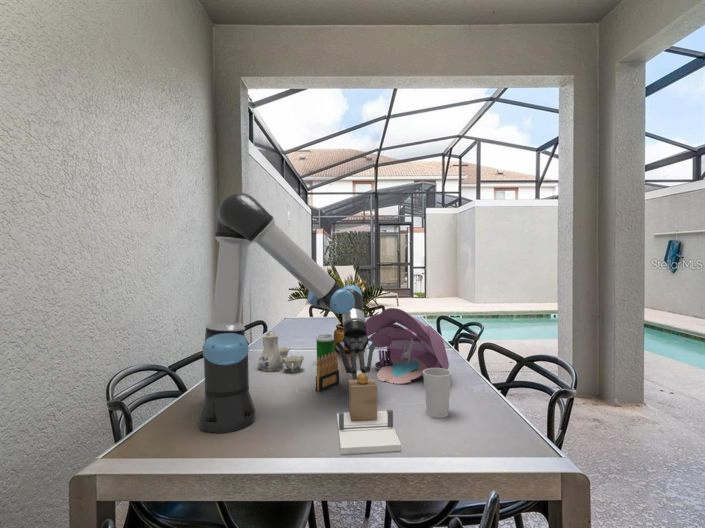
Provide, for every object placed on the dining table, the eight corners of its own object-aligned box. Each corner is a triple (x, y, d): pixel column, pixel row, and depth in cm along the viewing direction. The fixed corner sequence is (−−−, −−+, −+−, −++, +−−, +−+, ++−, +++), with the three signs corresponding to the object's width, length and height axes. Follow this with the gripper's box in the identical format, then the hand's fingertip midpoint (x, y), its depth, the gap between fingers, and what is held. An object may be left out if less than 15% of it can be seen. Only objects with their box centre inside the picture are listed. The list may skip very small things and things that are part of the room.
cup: (434, 421, 107) (433, 377, 107) (417, 410, 114) (417, 370, 114) (457, 416, 110) (457, 373, 110) (440, 406, 117) (440, 366, 117)
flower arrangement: (354, 390, 147) (339, 318, 143) (379, 362, 167) (367, 299, 163) (446, 395, 130) (432, 315, 126) (461, 364, 150) (450, 293, 146)
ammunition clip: (319, 392, 130) (319, 357, 130) (315, 391, 132) (314, 356, 131) (339, 384, 139) (339, 350, 139) (335, 383, 140) (335, 349, 140)
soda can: (338, 364, 164) (337, 336, 164) (322, 367, 160) (322, 338, 159) (328, 360, 170) (328, 333, 170) (313, 363, 166) (313, 335, 166)
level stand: (336, 418, 109) (336, 399, 109) (386, 416, 111) (386, 396, 111) (341, 454, 90) (340, 430, 89) (401, 451, 91) (400, 427, 91)
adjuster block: (349, 411, 110) (348, 370, 109) (374, 410, 110) (373, 369, 110) (351, 420, 104) (350, 377, 103) (377, 419, 104) (376, 376, 104)
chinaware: (310, 376, 154) (314, 333, 155) (271, 379, 145) (274, 334, 146) (282, 360, 177) (285, 324, 178) (246, 363, 168) (249, 324, 169)
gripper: (372, 331, 133) (381, 398, 117) (334, 333, 132) (337, 400, 116) (374, 318, 128) (384, 386, 111) (335, 319, 126) (338, 388, 110)
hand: (360, 393), depth 114 cm, fingers closed
